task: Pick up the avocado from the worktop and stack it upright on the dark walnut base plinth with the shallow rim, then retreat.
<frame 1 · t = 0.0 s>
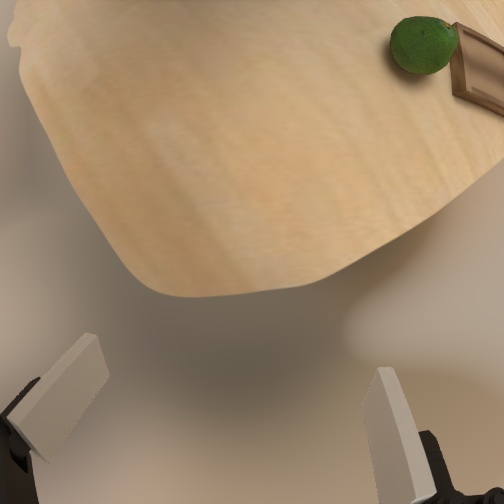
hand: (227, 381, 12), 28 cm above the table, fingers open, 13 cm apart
avocado: (405, 56, 28), on the table
base: (477, 72, 26), on the table
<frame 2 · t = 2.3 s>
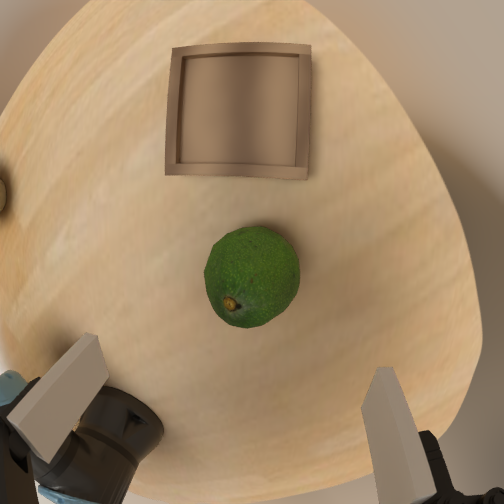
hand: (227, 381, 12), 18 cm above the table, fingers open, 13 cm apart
avocado: (257, 254, 29), on the table
flower pot: (0, 193, 30), on the table
base: (242, 113, 25), on the table
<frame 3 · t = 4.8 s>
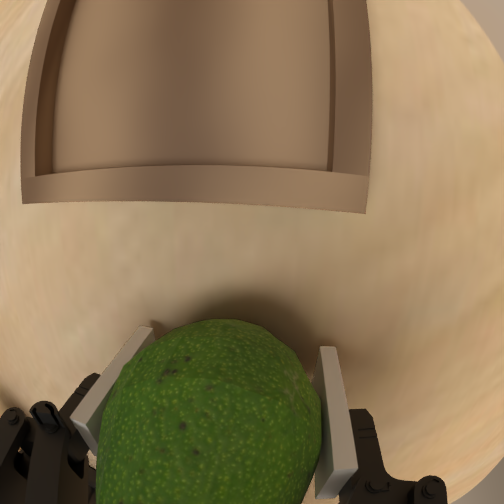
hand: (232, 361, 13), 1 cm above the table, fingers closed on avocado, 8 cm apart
avocado: (234, 349, 14), on the table, touching gripper
base: (197, 51, 9), on the table
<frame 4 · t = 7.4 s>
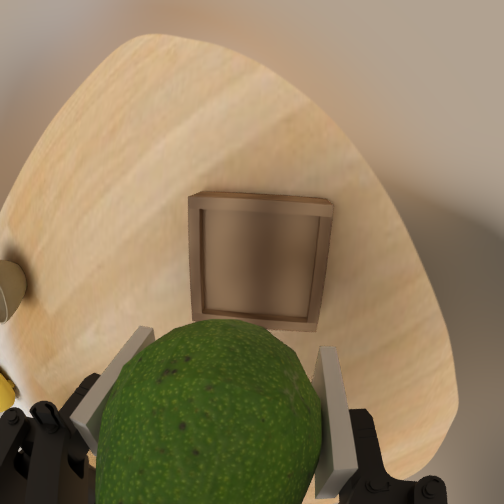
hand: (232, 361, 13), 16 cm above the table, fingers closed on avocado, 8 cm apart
teapot: (4, 378, 48), on the table
avocado: (234, 349, 14), point 15 cm above the table, touching gripper
flower pot: (19, 276, 34), on the table
base: (260, 254, 28), on the table
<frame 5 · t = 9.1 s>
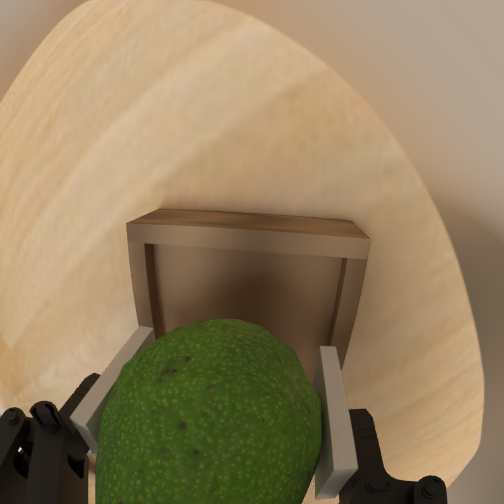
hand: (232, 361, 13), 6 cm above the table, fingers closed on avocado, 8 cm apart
avocado: (234, 349, 14), point 5 cm above the table, touching gripper
base: (247, 303, 19), on the table
when the fingers open (6 cm above the table, at t = 10.0 s): avocado drops 2 cm, resting on base.
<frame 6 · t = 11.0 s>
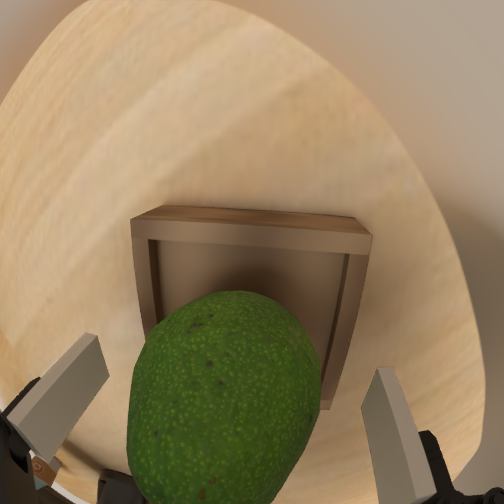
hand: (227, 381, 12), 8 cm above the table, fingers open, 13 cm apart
avocado: (244, 323, 16), point 3 cm above the table, touching base
coffee cup: (51, 456, 41), on the table
base: (250, 299, 19), on the table
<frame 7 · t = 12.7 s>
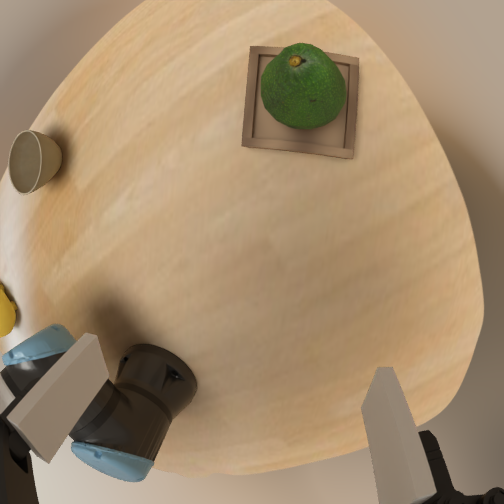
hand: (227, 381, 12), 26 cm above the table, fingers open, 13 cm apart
teapot: (6, 303, 52), on the table
avocado: (301, 100, 28), point 3 cm above the table, touching base
flower pot: (54, 158, 37), on the table
base: (301, 104, 30), on the table
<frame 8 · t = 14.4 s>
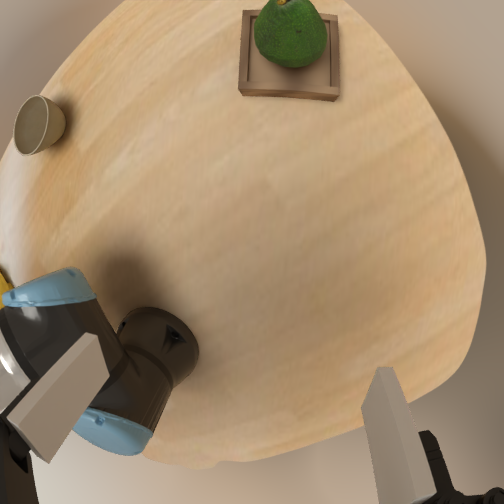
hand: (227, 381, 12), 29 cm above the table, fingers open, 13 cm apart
teapot: (3, 286, 51), on the table
avocado: (289, 51, 28), point 3 cm above the table, touching base
flower pot: (57, 125, 37), on the table
base: (289, 57, 31), on the table
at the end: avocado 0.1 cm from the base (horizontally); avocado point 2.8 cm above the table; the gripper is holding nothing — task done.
